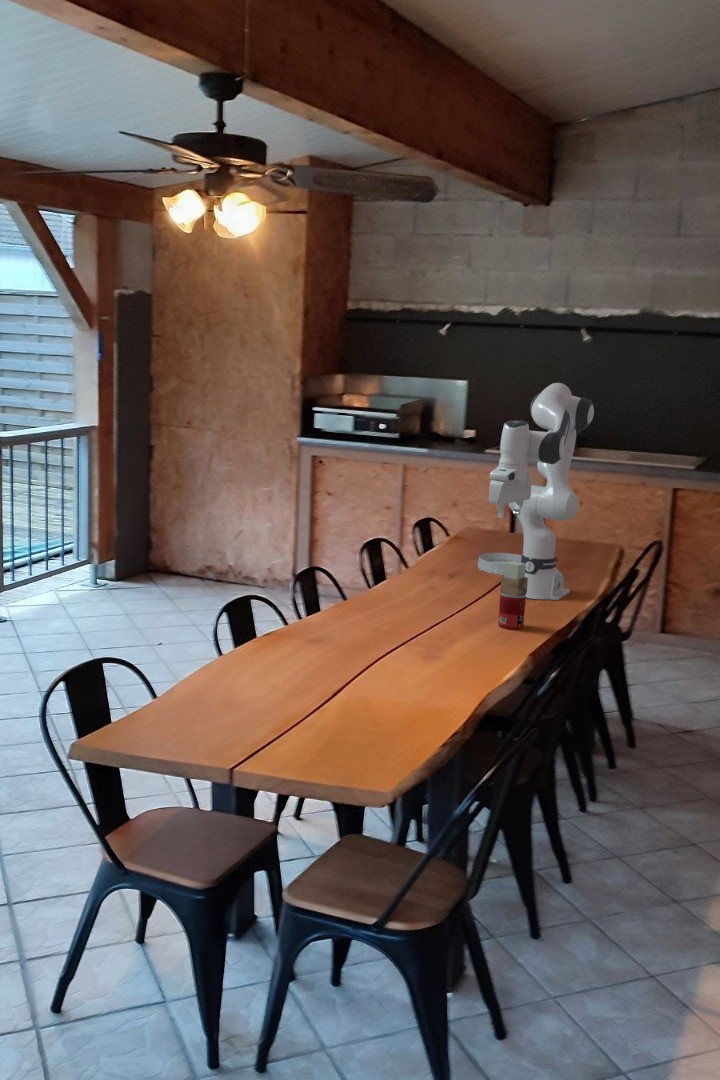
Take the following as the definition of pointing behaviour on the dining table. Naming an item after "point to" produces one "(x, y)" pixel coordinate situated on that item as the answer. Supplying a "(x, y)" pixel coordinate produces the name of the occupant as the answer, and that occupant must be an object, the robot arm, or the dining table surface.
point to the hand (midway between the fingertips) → (509, 516)
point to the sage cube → (515, 570)
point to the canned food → (511, 611)
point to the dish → (496, 562)
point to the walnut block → (514, 586)
